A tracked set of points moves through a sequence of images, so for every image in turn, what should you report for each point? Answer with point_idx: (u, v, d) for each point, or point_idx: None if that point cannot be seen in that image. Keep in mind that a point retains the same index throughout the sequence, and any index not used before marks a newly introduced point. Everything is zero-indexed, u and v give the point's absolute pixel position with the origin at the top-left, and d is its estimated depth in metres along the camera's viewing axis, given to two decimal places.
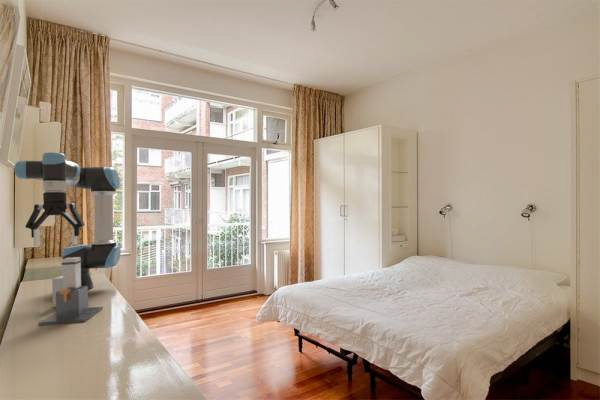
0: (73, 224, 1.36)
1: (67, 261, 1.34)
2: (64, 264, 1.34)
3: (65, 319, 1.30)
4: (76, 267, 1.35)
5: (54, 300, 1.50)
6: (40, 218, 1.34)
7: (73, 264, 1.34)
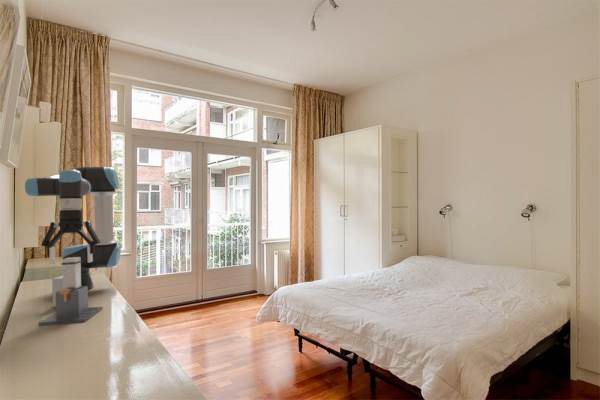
0: (89, 242, 1.36)
1: (67, 261, 1.34)
2: (64, 264, 1.34)
3: (65, 319, 1.30)
4: (76, 267, 1.35)
5: (54, 300, 1.50)
6: (56, 236, 1.34)
7: (73, 264, 1.34)
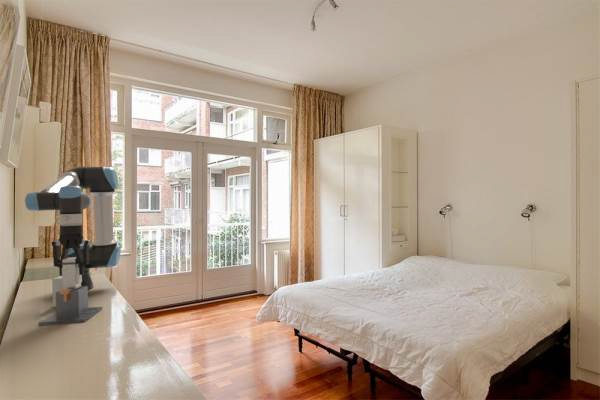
0: (79, 262, 1.36)
1: (67, 261, 1.34)
2: (64, 264, 1.34)
3: (65, 319, 1.30)
4: None
5: (54, 300, 1.50)
6: (63, 254, 1.35)
7: (73, 264, 1.34)
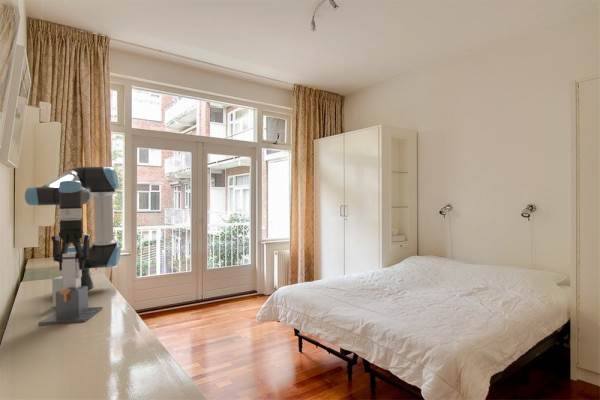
0: (79, 257, 1.36)
1: (67, 256, 1.34)
2: (64, 259, 1.34)
3: (65, 319, 1.30)
4: None
5: (54, 300, 1.50)
6: (62, 249, 1.35)
7: (73, 259, 1.34)
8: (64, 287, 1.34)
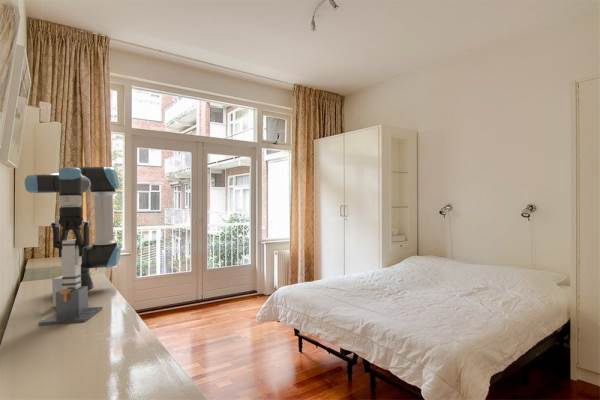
0: (79, 244, 1.36)
1: (67, 242, 1.34)
2: (64, 245, 1.34)
3: (65, 319, 1.30)
4: None
5: (54, 300, 1.50)
6: (62, 236, 1.35)
7: (73, 245, 1.34)
8: (64, 274, 1.34)
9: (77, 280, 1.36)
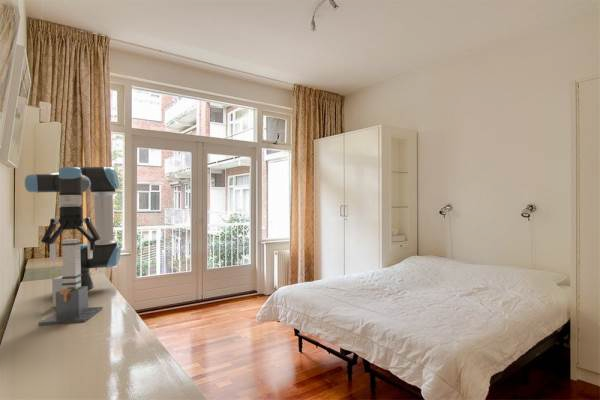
0: (89, 238, 1.36)
1: (67, 242, 1.34)
2: (64, 245, 1.34)
3: (65, 319, 1.30)
4: (76, 248, 1.35)
5: (54, 300, 1.50)
6: (56, 232, 1.34)
7: (73, 245, 1.34)
8: (64, 273, 1.34)
9: (77, 280, 1.36)
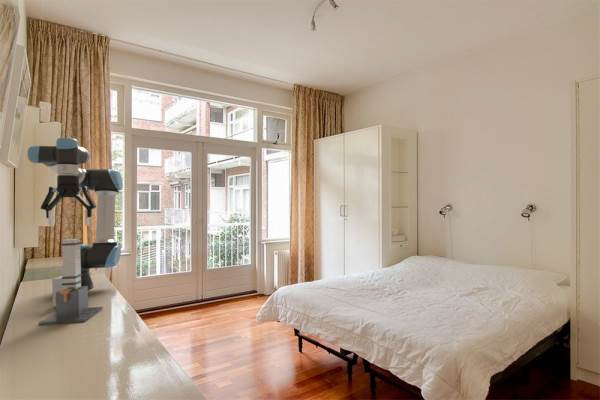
0: (86, 206, 1.44)
1: (67, 242, 1.34)
2: (64, 245, 1.34)
3: (65, 319, 1.30)
4: (76, 248, 1.35)
5: (54, 300, 1.50)
6: (54, 200, 1.42)
7: (73, 245, 1.34)
8: (64, 273, 1.34)
9: (77, 280, 1.36)
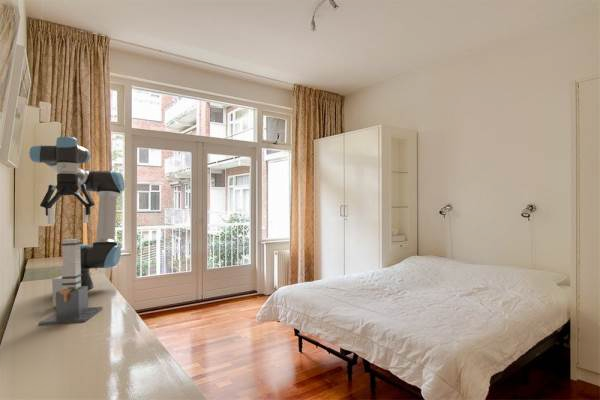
0: (84, 203, 1.46)
1: (67, 242, 1.34)
2: (64, 245, 1.34)
3: (65, 319, 1.30)
4: (76, 248, 1.35)
5: (54, 300, 1.50)
6: (54, 197, 1.44)
7: (73, 245, 1.34)
8: (64, 273, 1.34)
9: (77, 280, 1.36)
